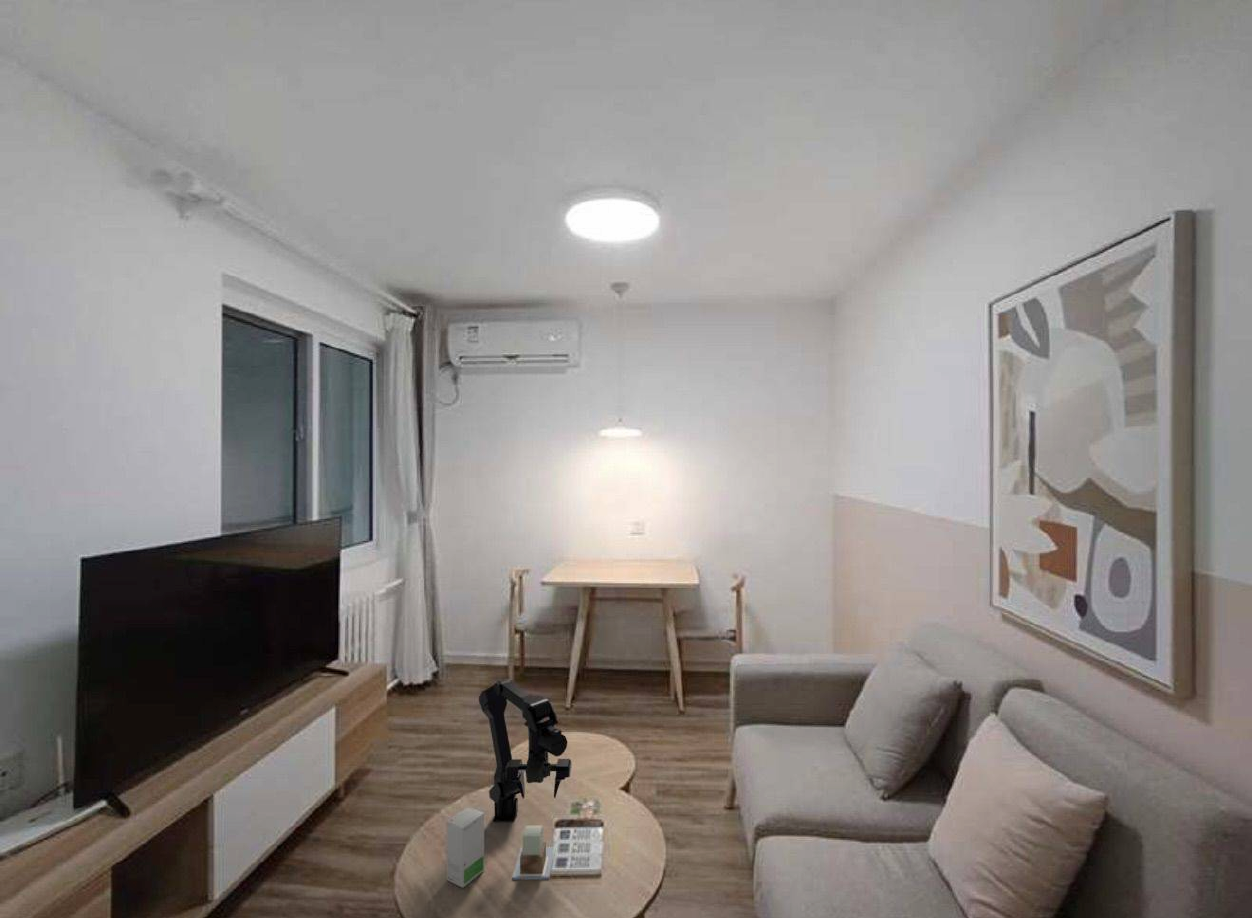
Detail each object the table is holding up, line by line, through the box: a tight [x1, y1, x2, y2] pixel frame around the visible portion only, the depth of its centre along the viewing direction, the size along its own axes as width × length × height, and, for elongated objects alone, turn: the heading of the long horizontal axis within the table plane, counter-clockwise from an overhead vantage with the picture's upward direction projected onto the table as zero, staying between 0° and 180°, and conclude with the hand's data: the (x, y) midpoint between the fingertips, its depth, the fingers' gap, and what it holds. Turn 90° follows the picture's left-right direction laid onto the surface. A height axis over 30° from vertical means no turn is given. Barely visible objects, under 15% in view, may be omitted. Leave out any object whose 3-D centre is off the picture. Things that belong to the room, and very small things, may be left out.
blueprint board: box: [511, 846, 554, 881], centre depth 157 cm, size 10×12×1 cm
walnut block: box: [520, 841, 547, 874], centre depth 155 cm, size 6×6×4 cm
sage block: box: [522, 825, 544, 855], centre depth 155 cm, size 5×5×5 cm
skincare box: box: [445, 806, 485, 888], centre depth 153 cm, size 8×7×16 cm
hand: (539, 797), depth 166 cm, fingers open, 9 cm apart
